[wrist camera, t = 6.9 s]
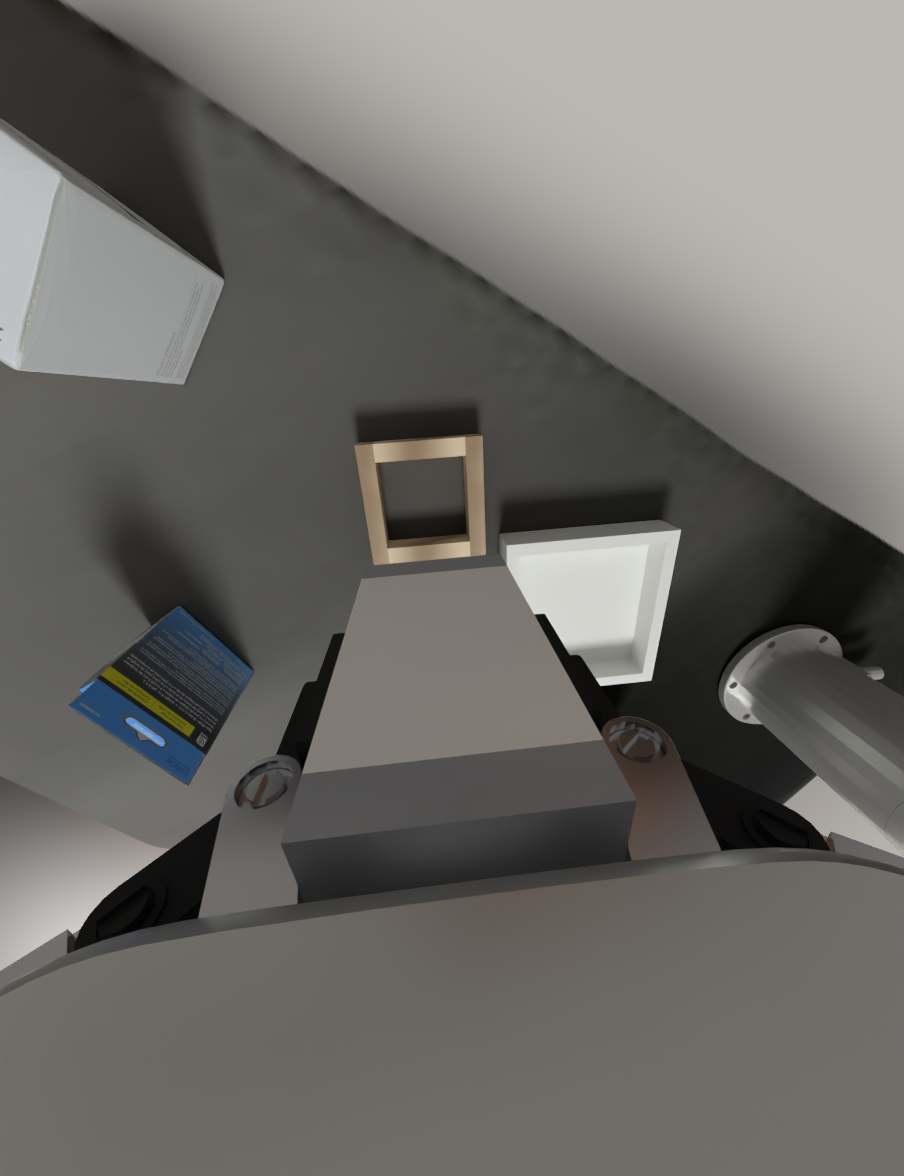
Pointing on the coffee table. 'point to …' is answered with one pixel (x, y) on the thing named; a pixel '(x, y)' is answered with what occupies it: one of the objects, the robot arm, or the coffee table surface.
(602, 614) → the parts tray
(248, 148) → the coffee table surface
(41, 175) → the supplement box
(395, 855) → the grey white rectangular block
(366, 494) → the tan wooden flat frame
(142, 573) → the coffee table surface
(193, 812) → the coffee table surface
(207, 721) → the label tape cartridge
